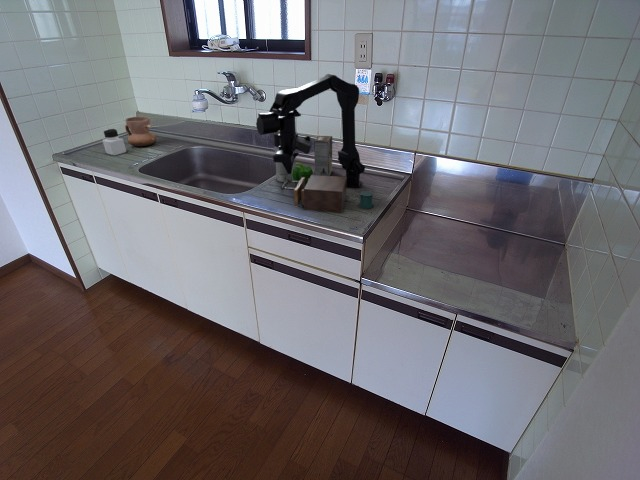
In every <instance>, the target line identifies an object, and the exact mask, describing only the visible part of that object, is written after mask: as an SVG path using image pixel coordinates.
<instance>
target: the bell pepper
mask: <svg viewBox="0 0 640 480" xmlns="http://www.w3.org/2000/svg"><path fill="white" fill-rule="evenodd" d="M311 175H314V171H313V169H312V167H311V165H307V166H306V165H304V164H302V163H301V162H295V166H293V168H292V181H300V180H301V178H302V177H305V186H306V184H307V183H308V179H310V177H311ZM294 185H295V187H296V186H297V185H298V183H294Z"/></svg>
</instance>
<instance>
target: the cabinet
mask: <svg viewBox="0 0 640 480" xmlns="http://www.w3.org/2000/svg"><path fill="white" fill-rule="evenodd" d="M346 186H347V177H346V176H335V175H330V176H320V175H315V174H313V175H311V177H310V179H309V181H308V183H307V184H306V186H305V188H304V205H303V206H304V207H303V209H304V210H305V211H315V212H327V213H328V212H329V213H343V210H344V206H345V202H346V199H347V187H346Z"/></svg>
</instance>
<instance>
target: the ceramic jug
mask: <svg viewBox="0 0 640 480" xmlns="http://www.w3.org/2000/svg"><path fill="white" fill-rule="evenodd" d="M124 121H125V125H124V128H125V129H124V130H125V132H126V133H127V135H128V138H127V142H128V143H129V144H130V145H131V146H133V147H139V148H140V147H141V148H142V147H149V146H151V145H153V144H155V143H156V142H157V136H156V135H155V134H154V133H152V132H150V129H152V128H153V125H151V119H150V117H149V116H131V117H127V118H125V119H124Z"/></svg>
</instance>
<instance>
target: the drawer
mask: <svg viewBox="0 0 640 480" xmlns="http://www.w3.org/2000/svg"><path fill="white" fill-rule="evenodd" d="M308 181H309V179H308ZM290 183H294V184H295V183H298V185H297V186H296V185H295V187H287V186H288V184H290ZM304 188H305V177H302V178H301V180H300V181H293V180H291V181H290V180H288V179H287V180H286V181H285V182H283V184H282V186H281V187H280V190H281V191H284V190H287V191H293V195H294V196H293V197H294V207H299V205H300V204H301V206H304Z"/></svg>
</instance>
